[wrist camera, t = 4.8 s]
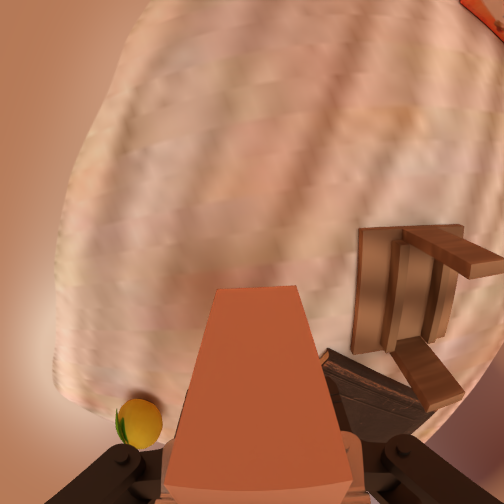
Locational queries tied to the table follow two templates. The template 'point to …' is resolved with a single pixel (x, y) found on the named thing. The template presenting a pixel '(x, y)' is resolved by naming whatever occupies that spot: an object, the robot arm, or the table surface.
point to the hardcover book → (373, 400)
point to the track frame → (414, 299)
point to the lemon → (138, 423)
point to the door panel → (258, 409)
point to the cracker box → (488, 13)
